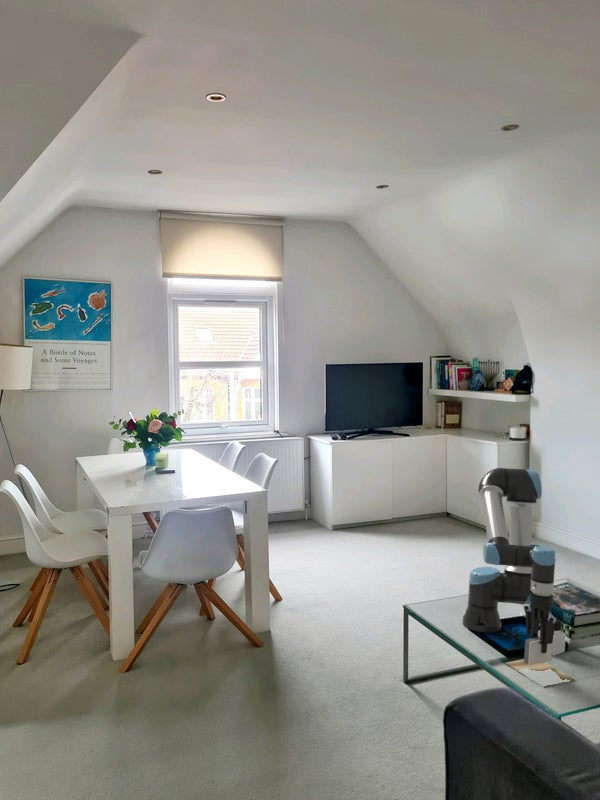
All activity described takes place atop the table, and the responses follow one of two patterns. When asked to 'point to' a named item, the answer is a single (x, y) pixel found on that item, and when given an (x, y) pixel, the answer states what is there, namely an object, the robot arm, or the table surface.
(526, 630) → the robot arm
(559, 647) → the medicine bottle
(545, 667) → the mat
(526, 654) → the tile
